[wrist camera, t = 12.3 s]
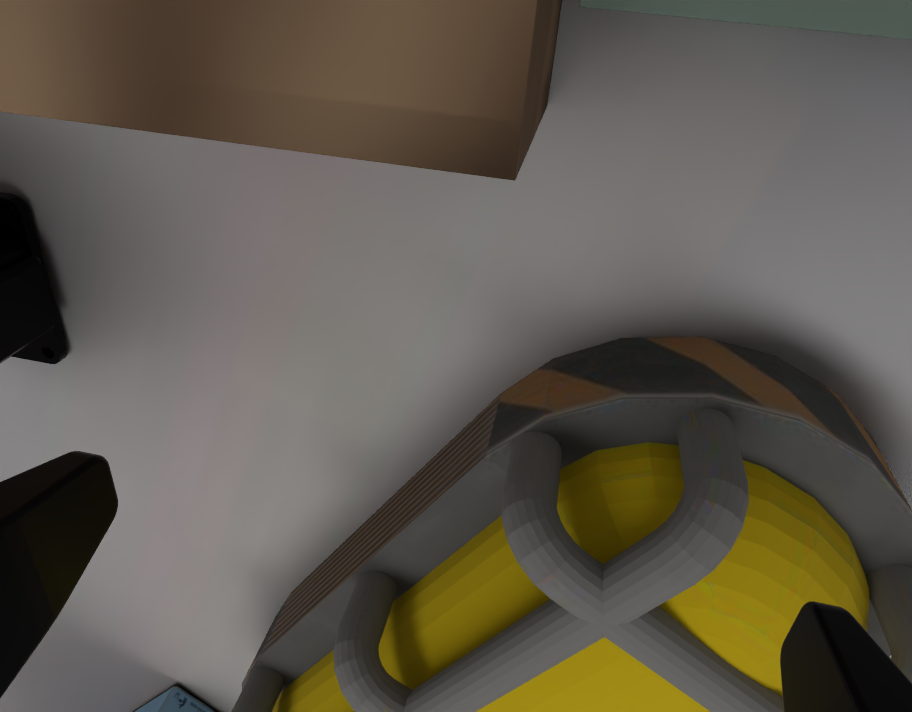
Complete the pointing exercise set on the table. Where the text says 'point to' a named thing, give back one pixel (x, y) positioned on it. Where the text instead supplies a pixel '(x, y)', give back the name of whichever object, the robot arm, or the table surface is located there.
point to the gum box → (175, 703)
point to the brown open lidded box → (294, 73)
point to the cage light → (606, 548)
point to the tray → (785, 13)
